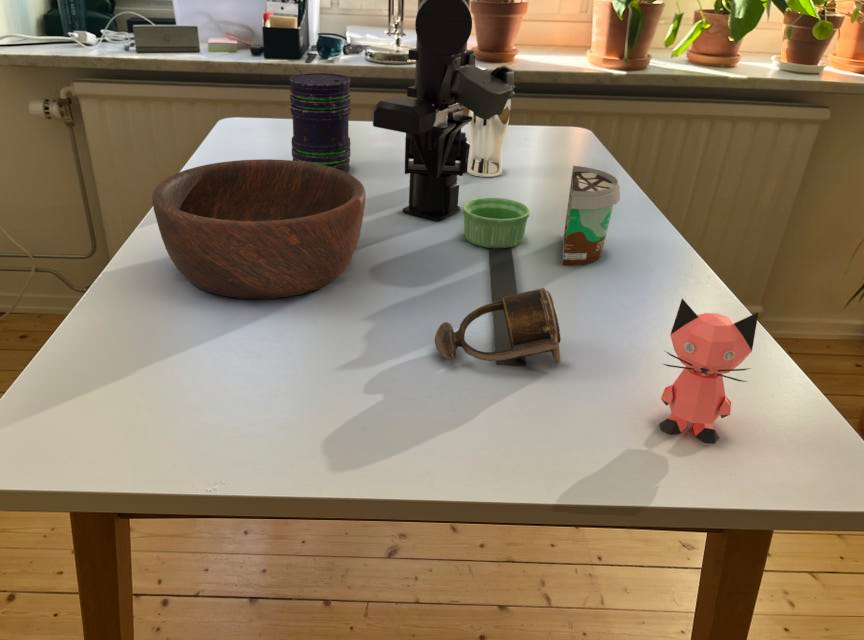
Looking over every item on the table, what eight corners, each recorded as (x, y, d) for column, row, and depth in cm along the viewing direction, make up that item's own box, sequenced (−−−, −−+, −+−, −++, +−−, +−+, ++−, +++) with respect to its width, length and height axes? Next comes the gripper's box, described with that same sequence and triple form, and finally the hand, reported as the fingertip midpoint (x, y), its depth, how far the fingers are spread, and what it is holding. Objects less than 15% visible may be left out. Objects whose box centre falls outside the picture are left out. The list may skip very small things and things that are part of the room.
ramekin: (467, 251, 108) (469, 219, 106) (455, 227, 115) (457, 197, 113) (533, 250, 108) (537, 218, 106) (517, 226, 116) (521, 196, 114)
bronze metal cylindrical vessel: (564, 342, 74) (583, 280, 81) (430, 307, 77) (460, 250, 84) (550, 397, 79) (569, 334, 86) (425, 362, 82) (453, 304, 89)
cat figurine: (643, 436, 71) (669, 313, 65) (654, 399, 77) (679, 281, 71) (729, 457, 69) (764, 331, 63) (734, 417, 74) (767, 297, 68)
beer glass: (511, 170, 141) (520, 80, 133) (493, 180, 136) (501, 87, 128) (475, 163, 144) (481, 75, 137) (456, 173, 139) (462, 81, 131)
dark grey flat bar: (526, 366, 82) (526, 365, 82) (496, 364, 82) (496, 363, 82) (509, 232, 115) (509, 231, 115) (487, 231, 115) (487, 230, 115)
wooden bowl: (184, 230, 112) (176, 156, 107) (365, 233, 113) (366, 159, 108) (138, 310, 91) (126, 221, 86) (363, 313, 91) (364, 226, 86)
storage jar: (281, 174, 136) (277, 81, 129) (308, 159, 144) (306, 71, 137) (335, 182, 133) (334, 87, 126) (360, 166, 141) (360, 76, 134)
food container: (611, 273, 102) (625, 196, 98) (562, 268, 103) (573, 192, 99) (608, 239, 113) (620, 168, 108) (563, 235, 114) (573, 164, 109)
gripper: (460, 59, 81) (451, 210, 89) (543, 39, 95) (528, 171, 102) (370, 47, 87) (368, 190, 94) (460, 29, 100) (452, 156, 108)
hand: (434, 176), depth 100 cm, fingers closed
